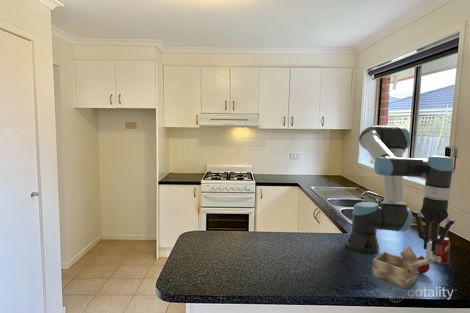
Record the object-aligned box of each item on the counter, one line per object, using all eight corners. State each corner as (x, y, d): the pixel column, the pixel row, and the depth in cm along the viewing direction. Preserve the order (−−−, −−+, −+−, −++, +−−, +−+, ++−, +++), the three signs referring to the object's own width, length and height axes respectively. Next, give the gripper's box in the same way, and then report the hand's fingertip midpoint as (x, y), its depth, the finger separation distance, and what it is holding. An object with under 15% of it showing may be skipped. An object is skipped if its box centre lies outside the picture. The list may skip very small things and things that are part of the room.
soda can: (440, 266, 126) (443, 240, 125) (426, 259, 133) (429, 235, 132) (451, 264, 128) (454, 239, 127) (437, 258, 134) (439, 234, 133)
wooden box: (371, 275, 115) (373, 258, 115) (383, 266, 123) (384, 250, 123) (408, 290, 105) (409, 271, 105) (418, 279, 113) (419, 262, 113)
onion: (422, 270, 122) (424, 252, 121) (432, 277, 116) (434, 258, 115) (409, 270, 121) (411, 252, 121) (418, 276, 116) (420, 258, 115)
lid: (400, 252, 108) (419, 247, 103) (408, 246, 114) (427, 241, 109) (410, 270, 106) (430, 266, 100) (418, 263, 112) (438, 259, 107)
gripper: (412, 195, 105) (406, 254, 107) (455, 203, 95) (446, 268, 98) (419, 192, 110) (412, 250, 112) (460, 200, 100) (452, 262, 103)
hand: (428, 258), depth 105 cm, fingers closed
